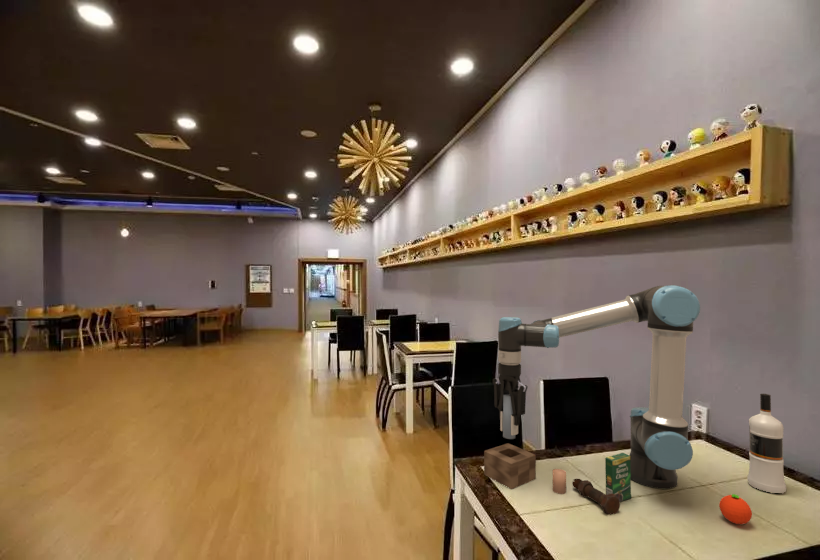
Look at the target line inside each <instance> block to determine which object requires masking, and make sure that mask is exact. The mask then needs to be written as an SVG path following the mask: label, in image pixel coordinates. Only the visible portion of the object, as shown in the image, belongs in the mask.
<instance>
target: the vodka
mask: <svg viewBox="0 0 820 560" xmlns="http://www.w3.org/2000/svg"><path fill="white" fill-rule="evenodd" d="M759 396H760V397H759V400H760V403H759V404H760V405H759V407H760V410H759V413H758V414H755V415H753V416H751V417H750V418H749V419H748V425H749V426H748V427H749V430H748V431H749V433H748V434H749V439H748V441H749V452H748V454H749V469H748V474H747V478H746V479H747V480H746V481H747V482H748V484H749V485H750V486H751V487H753V488H754V489H756V488H757V489H756V490H758V489H759V490H758V491H760V490H763V491H766V492H765V493H767V492H772V493H782V494H785V493H786V491H787V484H786V482H785V475H784V473H785V471H784V463H785V460H784V440H783V439H784V430H785V429H784V425H783V423H782V422H781V421H780V420H779V419H778V418H776V417H774V416H773V415H772V402H771V401H772V398H771V397H772V396H771V394H769V393H760V394H759ZM763 491H762V492H763ZM784 492H785V493H784ZM772 493H771V494H772Z"/></svg>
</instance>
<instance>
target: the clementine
mask: <svg viewBox="0 0 820 560" xmlns="http://www.w3.org/2000/svg"><path fill="white" fill-rule="evenodd" d="M718 507H719V510H720V513H721V514H722V515H723V517H724V518H725V519H726V520H727V521H729V522H731V523H733V524H736V525H745V524H748V523H749V522H750V521H751V520H752V517H753V512H752V511H753V510H752V508H751V507H750V505H749V504H748V502H747V501H745V499H743V498H742V497H740V496H739V495H738V494H736V493H735V494H734V493H732V494H727V495H725V496H723V497H721V499H720V501H719V505H718Z"/></svg>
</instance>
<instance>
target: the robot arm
mask: <svg viewBox="0 0 820 560" xmlns="http://www.w3.org/2000/svg"><path fill="white" fill-rule="evenodd" d="M700 312H701V304H700V300H699V298H698V297H697V295H696V294H695V293H693V291H691V290H690V289H687V288H686V287H683V286H680V285H674V284H673V285H657V286H653V287H651V288H647V289H646V290H641V291H639V292H635V293H633V294H629V295H626V296H625V299H621V300H617V301H613V302H610V303H605V304H601V305H597V306H593V307H589V308H586V309H581V310H578V311H573V312H569V313H565V314H560V315H557V316H553V317H550V318H546V319H538V320H534V321H533V322H531V323H523V322H522V319H521V318H520V317H513V316H504V317H501V318H500V319H499V320H498V330H497V331H498V333H497V335H498V337H497V340H498V343H497V345H498V347H497V350H498V355H497V356H498V358H497V359H498V364H497V365H498V366H497V368H498V370H497V371H498V377H496V378H493V379H492V383H493V395H494V397H493V398H494V399H493V401H494V403H493V405H494V407H495V408H497V409H498V412H499V413H498V417H499V420H500V423H499V424H500V426H499V427H500V428H499V430H500V431H501V432H503V395H505V394H510V396H511V403H512V410H513V414H512V415H511V435H512V436H513V435H515V436H516V435H518V434H519V426H520V423H521V422H520V421H521V420H520V418H521V416H523V415H525V414H526V400H527V399H526V398H527V395H526V394H527V391H528V385H527V384H523V383H522V381H521V378H520V376H521V374H522V364H521V363H522V347H534V348H535V347H536V348H537V347H538V348H547V349H549V348H558V347H559V345H560V339H561V338H564V337H568V336H572V335H576V334H581V333H586V332H590V331H594V330H598V329H602V328H603V329H604V328H608V327H611V326H617V325H619V324H620V325H621V324H625V323H629V322H634V323H636V324H638V323H642V322H647V329H648V330H649V331H650V332H651V334H652V339H651V340H652V342H651V343H652V344H651V359H650V360H651V361H650V363H651V364H650V378H649V379H650V383H649V398H648V399H649V401H648V402H649V403H648V407H644V406H643V407H642V406H641V407H639V406H637V407H633V408H631V409H630V414H629V417H630V420H629V421H630V452H629V453H628V455H629V456H630V470H631V480H632V481H634V483H635V482H636V483H638V484H640V485H642V486H647V487H649V488H655V489H665V490H667V489H673V488H675V487H677V486H678V484H679V482H678V481H679V479H678V474H677V471H678V470H680V469H682V468H684V467H686V466H688V465H689V464H690V462H691V461H692V459H693V456H694V451H693V447H692V444H691V442H690V440H688V435H689V434H688V433H689V422H687V421H686V419H684V416H683V410H684V409H683V408H684V392H685V391H684V387H685V372H686V371H685V368H686V353H687V352H686V351H687V338H688V336H690V335H692V334H693V332H694V322H695V321H696V320H697V318H698V317H699V316H700Z"/></svg>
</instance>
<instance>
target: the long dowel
mask: <svg viewBox="0 0 820 560" xmlns="http://www.w3.org/2000/svg"><path fill="white" fill-rule="evenodd" d="M512 414H513V410H512V403H511V396H510V394H509V393H508V394H505V395H503V431H502V437H503V438H504V439H507V440H514V439H516V435H513V436H512V435H511V415H512Z"/></svg>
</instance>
